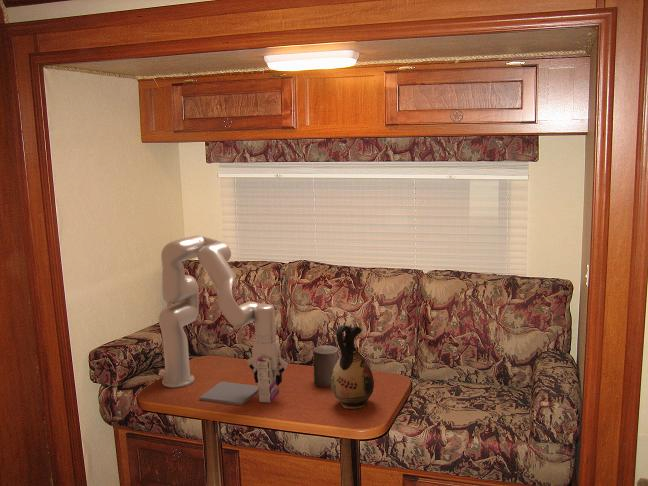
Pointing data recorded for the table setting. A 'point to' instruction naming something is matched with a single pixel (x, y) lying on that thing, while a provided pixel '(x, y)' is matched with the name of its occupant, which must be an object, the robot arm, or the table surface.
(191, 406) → the table surface
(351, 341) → the ceramic jug
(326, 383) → the pillar candle
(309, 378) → the table surface
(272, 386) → the candy bar box
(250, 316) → the robot arm
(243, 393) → the rubber mat
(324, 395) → the table surface
